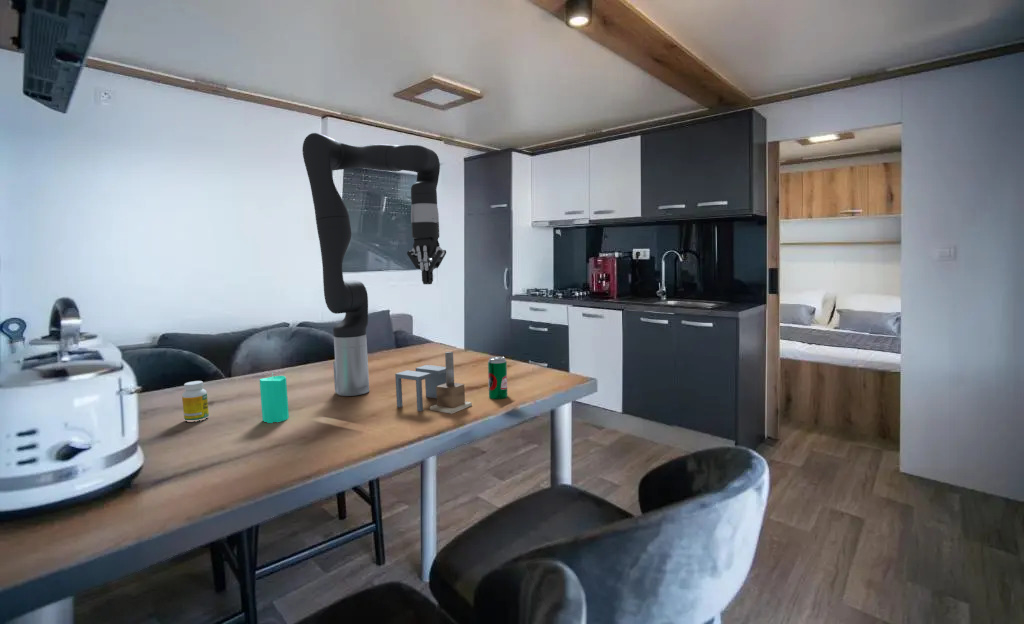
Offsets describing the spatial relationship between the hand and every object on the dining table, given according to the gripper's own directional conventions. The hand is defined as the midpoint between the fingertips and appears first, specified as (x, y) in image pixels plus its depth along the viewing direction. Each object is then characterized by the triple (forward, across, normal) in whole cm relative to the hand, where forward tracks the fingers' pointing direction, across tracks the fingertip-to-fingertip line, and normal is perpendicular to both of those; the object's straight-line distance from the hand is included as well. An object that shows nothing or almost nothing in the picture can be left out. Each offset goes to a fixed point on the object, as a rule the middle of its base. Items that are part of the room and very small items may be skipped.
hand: (427, 284), depth 143 cm
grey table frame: (+32, +4, -10) cm, 34 cm away
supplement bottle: (+32, -39, -45) cm, 68 cm away
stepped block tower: (+31, +15, -10) cm, 36 cm away
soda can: (+32, +20, +4) cm, 38 cm away
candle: (+32, -21, -35) cm, 52 cm away
